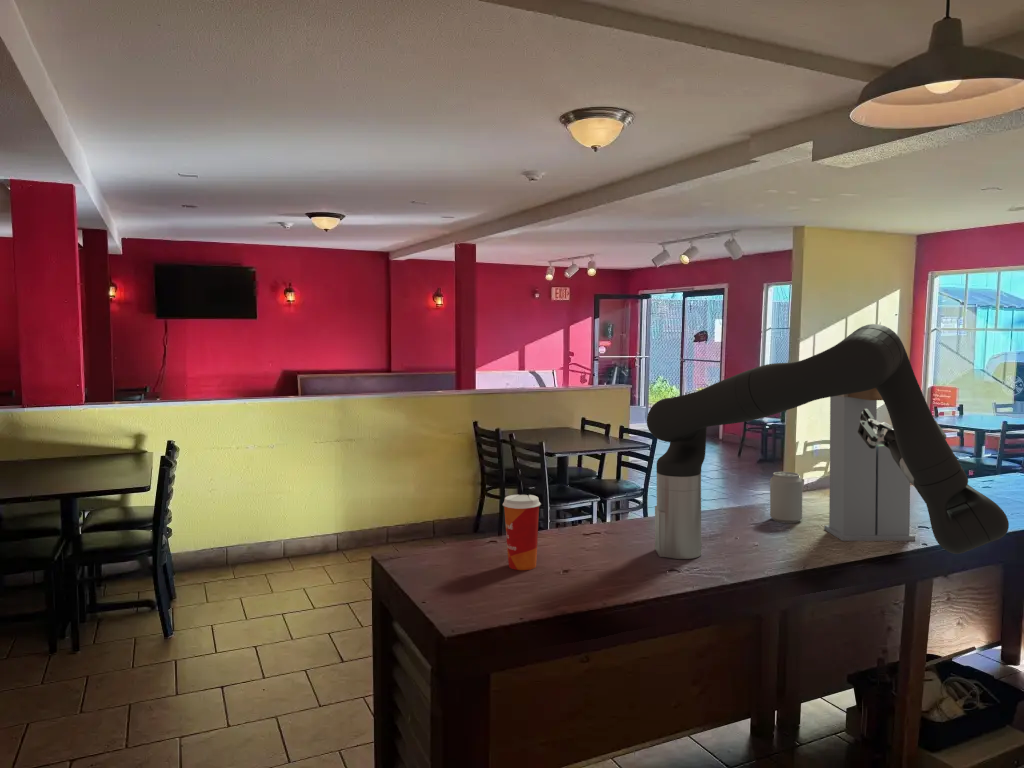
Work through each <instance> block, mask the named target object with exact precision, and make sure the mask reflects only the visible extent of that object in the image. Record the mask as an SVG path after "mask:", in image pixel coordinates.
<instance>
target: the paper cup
mask: <svg viewBox="0 0 1024 768" xmlns="http://www.w3.org/2000/svg"><path fill="white" fill-rule="evenodd" d="M541 505H542V503H541V502H540V500H539V497H538V496H536V495H534V494H528V495H527V494H511V495H507V496H505V497H504V501H503V503H502V506H503V509H504V519H505V520H504V522H505V523H504V524H505V534H506V535H505V537H506V538H505V539H506V549H507V562H508V567H509V569H511V570H515V571H529V570H533V569H535V568H536V567H537V558H538V544H539V543H538V542H539V537H538V536H539V519H540V518H539V513H540V506H541Z"/></svg>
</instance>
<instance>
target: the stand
mask: <svg viewBox="0 0 1024 768" xmlns="http://www.w3.org/2000/svg"><path fill="white" fill-rule="evenodd" d="M829 399H830V400H829V401H830V402H829V407H830V408H829V423H830V424H829V501H828V502H829V506H828V507H829V512H828V513H829V516H828V519H829V520H828V521H829V523H828V524H826V525H825V524H824V531H826V532H828V533H829V534H831V535H833V536H834V537H835V538H837V539H838V538H839V540H840V541H842V542H844V541H845V542H847V541H850V542H851V541H852V542H854V541H859V542H861V541H862V542H864V541H866V542H867V541H870V542H873V541H874V542H876V541H877V542H879V541H881V542H883V540H885V541H886V540H887V541H888V542H889V541H890V542H891V541H893V542H894V541H899V542H902V541H904V542H906V541H910V542H912V541H913V542H914V541H916V535H914V534H912V533H910V526H911V525H910V524H911V522H910V521H911V520H910V519H911V513H910V512H911V511H910V510H911V508H910V507H911V483H910V482H909V481H908V479H907V478H906V476H905V475H904V473H903V472H902V470H901V469H900V468H899V466H898V465H897V463H896V462H895V460H894V459H893V457H892V455H891V452H890V449H889V448H887V447H886V446H884V445H876V447H875V448H874V449H871V448H869V447H868V445H867V444H866V443H865V441H864V440H863V439H862V437H861V436H860V435H859V433H858V429H859V425H860V421H862V420H861V419H860V417H861V413H862V411H863V409H868V410H869V411H870V413H871V414H872V416H873V417H874V420H876V421H878V420H877V413H878V412H877V411H878V409H877V406H878V405H877V404H878V400H865V399H858V398H852V397H841V396H833V397H829ZM873 428H874V429H876V430H877V427H876V426H874V427H873ZM885 541H884V542H885Z"/></svg>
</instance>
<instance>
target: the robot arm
mask: <svg viewBox="0 0 1024 768" xmlns="http://www.w3.org/2000/svg"><path fill="white" fill-rule="evenodd" d="M874 388H876V389H877V390H878V392H879V394H880V395H881V397H882V399H883V400H882V401H883V403H884V405H885V406H886V410H887V412H888V416H889V420H890V422H891V424H889V423H887V422H886V421H882V422H880V421H879V420H877V421H876V420H874V417H873V416H872V414H871V413H870V411H869V410H868V409H863V411H862V413H861V417H860V419H861V420H862V421H860V425H859V429H858V433H859V435H860V436H861V437H862V439H863V440H864V441H865V443H866V444H867V445H868V447H869V448H871V449H874V448H875V447H876V445H884V446H886V447H887V448H889V449H890V452H891V455H892V457H893V459H894V460H895V462H896V463H897V465H898V466H899V468H900V469H901V470H902V472H903V473H904V475H905V476H906V478H907V479H908V481H909V482H910V485H912V486H913V487H914V488H915V490H916V491H917V493H918V494H919V496H920V497H921V499H922V500H923V501H924V503H925V506H926V508H927V512H928V516H929V520H930V521H929V522H930V526H931V530H932V533H933V537H934V538H935V541H936V542H937V544H938V545H939V546H940V548H942V549H943V550H945V551H946V552H949V553H951V554H956V555H959V554H964V553H966V552H968V551H971V550H974V549H976V548H979V547H982V546H984V545H986V544H989V543H992V542H995V541H997V540H1000V539H1002V538H1003V537H1005V536H1006V535H1007V533H1008V532H1009V528H1010V527H1009V525H1010V523H1009V519H1008V517H1007V515H1006V514H1007V513H1005V511H1004V510H1003V509H1002V507H1000V506H999V505H998V504H997V503H996V502H994V500H992V499H991V498H989V497H988V496H987V495H985V494H983V493H982V492H979V491H978V490H977V489H975V488H974V487H972V486H971V485H969V478H968V476H967V474H966V472H965V470H964V468H963V466H962V465H961V464H960V462H959V461H960V460H958V458H957V457H956V454H955V453H954V452H953V450H952V448H951V446H950V445H949V443H948V442H947V440H946V439H947V434H946V433H945V431H944V430H943V429H942V427H941V426H940V425H939V423H938V422H937V420H936V419H935V418H934V416H933V413H932V412H931V409H930V407H929V404H928V403H927V400H926V398H925V396H924V394H923V392H922V390H921V387H920V385H919V382H918V379H917V377H916V375H915V372H914V370H913V366H912V363H911V361H910V358H909V355H908V353H907V351H906V348H905V346H904V344H903V342H902V340H901V337H900V336H899V335H898V334H897V333H896V332H895V331H894V330H892V329H891V328H889V327H887V326H886V325H882V324H876V323H872V324H871V323H870V324H866V325H862V326H861V327H859V328H857V329H856V330H854V331H853V332H851V333H850V334H849V335H848V336H846V337H845V338H844V339H842V340H841V341H839V342H838V343H837V344H835V345H833V346H831V347H829V348H827V349H826V350H823V351H821V352H819V353H816V354H814V355H812V356H810V357H807V358H804V359H802V360H798V361H793V362H777V363H774V362H773V363H769V364H768V363H767V364H763V365H761V366H756V367H754V368H751V369H748V370H745V371H741V372H740V373H737V374H735V375H733V376H731V377H727V378H725V379H722V380H719V381H718V382H716V383H712V384H710V385H709V386H707V387H704V388H702V389H700V390H696V391H693V392H691V393H686V394H682V395H678V396H674V397H667V398H661V399H660V400H657V401H656V402H655V403H653V405H652V406H651V408H650V409H649V411H648V413H647V416H646V426H647V428H648V431H649V433H650V434H651V435H652V436H653V437H654V438H655V439H657V440H660V441H662V442H664V443H665V442H667V443H669V446H668V448H667V450H666V451H665V453H664V454H662V455H661V456H660V457H659V458H658V459H657V460H656V505H655V506H654V549H655V552H656V553H657V555H658V557H660V558H668V559H675V560H677V559H678V560H688V559H689V560H690V559H695V558H698V557H700V556H701V555H702V547H703V546H702V545H703V544H702V467H703V464H704V461H705V459H706V458H705V457H706V447H707V428H710V427H716V426H725V425H733V424H739V423H745V422H751V421H755V420H759V419H763V418H765V417H766V418H768V417H770V416H774V415H776V414H777V415H778V414H780V413H782V412H786V411H789V410H791V409H795V408H797V407H798V408H799V407H800V406H803V405H805V404H808V403H810V402H811V403H812V402H814V401H817V400H820V399H821V400H822V399H826V398H830V397H833V396H839V395H844V394H851V393H857V392H862V391H867V390H871V389H874ZM874 426H876V429H874V428H873V427H874ZM885 430H887V431H886V432H885ZM884 432H885V434H884Z"/></svg>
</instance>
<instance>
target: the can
mask: <svg viewBox="0 0 1024 768" xmlns="http://www.w3.org/2000/svg"><path fill="white" fill-rule="evenodd" d="M772 475H773V476H772V477H771V478H770V479H769V481H770V482H769V484H770V485H769V487H770V488H769V489H770V490H769V491H770V492H769V495H770V496H769V497H770V498H769V503H770V504H769V513H770V514H769V517H770V518H771V519H772V520H773V521H775V522H777V523H782V524H797V523H799V522H800V521H801V520H802V518H803V480H802V478H801V477H800V474H799V473H798V472H793V471H775V472H773V473H772Z"/></svg>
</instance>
